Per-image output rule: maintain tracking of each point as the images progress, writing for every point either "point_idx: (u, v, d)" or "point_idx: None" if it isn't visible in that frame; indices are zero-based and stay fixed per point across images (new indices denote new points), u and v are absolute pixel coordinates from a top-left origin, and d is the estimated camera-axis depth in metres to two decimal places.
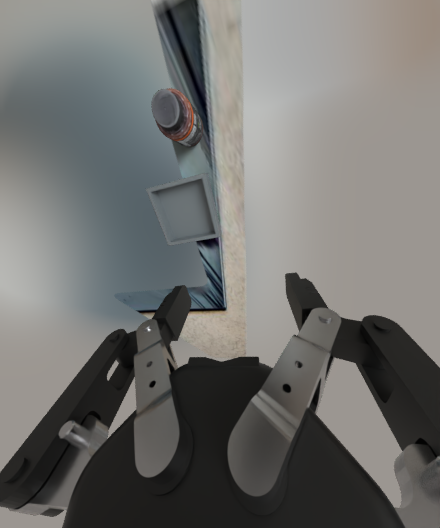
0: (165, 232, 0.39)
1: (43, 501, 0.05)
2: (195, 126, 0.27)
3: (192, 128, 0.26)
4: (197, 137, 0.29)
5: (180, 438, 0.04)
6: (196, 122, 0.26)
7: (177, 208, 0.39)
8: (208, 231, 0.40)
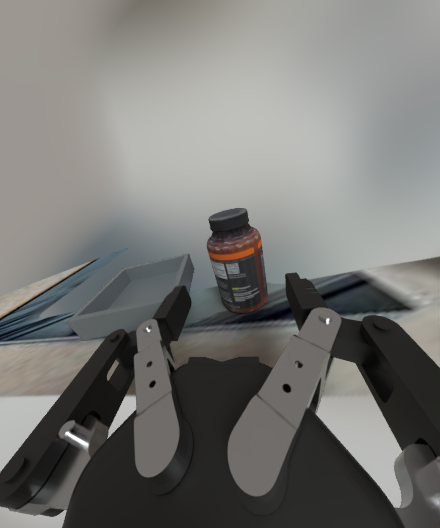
0: (138, 266, 0.31)
1: (43, 501, 0.05)
2: (226, 274, 0.16)
3: (219, 261, 0.16)
4: (223, 292, 0.18)
5: (180, 437, 0.04)
6: (232, 276, 0.16)
7: (159, 283, 0.28)
8: None
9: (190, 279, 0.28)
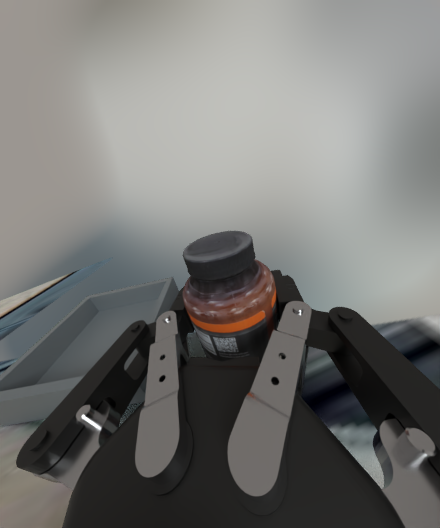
0: (107, 293, 0.24)
1: (57, 476, 0.05)
2: (215, 349, 0.09)
3: (201, 329, 0.09)
4: None
5: (178, 444, 0.04)
6: (224, 354, 0.09)
7: (132, 320, 0.21)
8: (40, 379, 0.16)
9: None
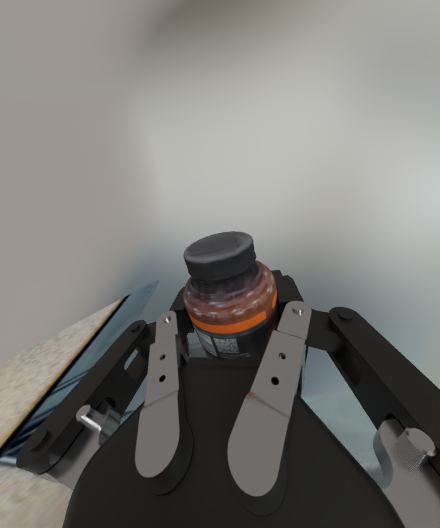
0: None
1: (56, 476, 0.05)
2: (215, 350, 0.09)
3: (201, 330, 0.09)
4: None
5: (179, 445, 0.04)
6: (225, 355, 0.09)
7: None
8: None
9: None
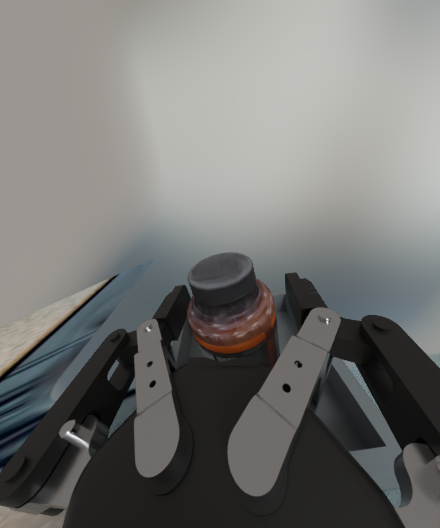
0: None
1: (43, 501, 0.05)
2: None
3: (205, 349, 0.09)
4: None
5: (180, 438, 0.04)
6: None
7: None
8: None
9: None
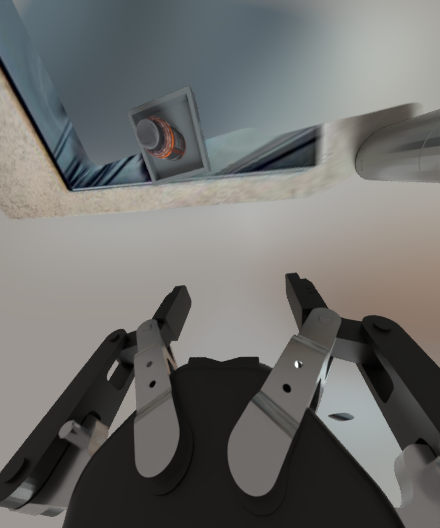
0: (142, 108, 0.31)
1: (43, 501, 0.05)
2: None
3: None
4: None
5: (180, 438, 0.04)
6: None
7: None
8: (157, 170, 0.38)
9: (200, 123, 0.33)
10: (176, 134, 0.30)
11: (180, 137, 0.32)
